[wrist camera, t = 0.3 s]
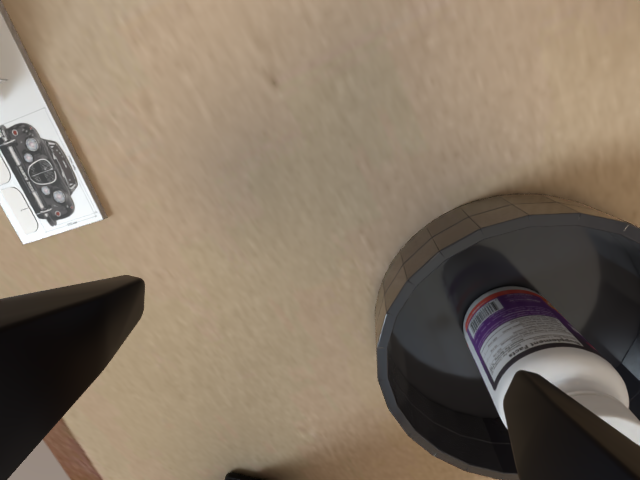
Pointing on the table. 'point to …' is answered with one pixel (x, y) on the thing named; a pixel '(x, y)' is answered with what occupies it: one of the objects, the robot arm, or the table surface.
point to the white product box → (37, 152)
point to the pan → (481, 277)
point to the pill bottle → (543, 354)
